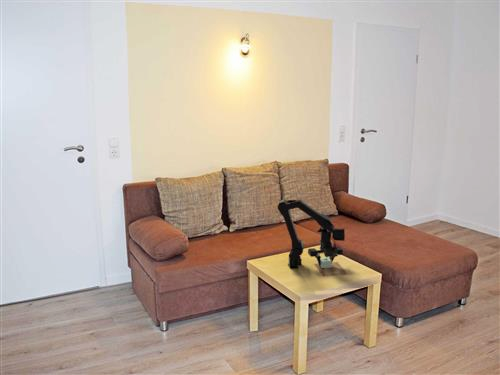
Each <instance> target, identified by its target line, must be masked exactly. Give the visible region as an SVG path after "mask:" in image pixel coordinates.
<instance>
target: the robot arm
mask: <svg viewBox="0 0 500 375" xmlns="http://www.w3.org/2000/svg"><path fill="white" fill-rule="evenodd" d="M277 209H278V212H279V213H280V215H281V217H283V220H284V222H285V225H286V229H287V231H288V234H289V236H290V237H289V238H290V240H291V249H290V250H289V254H288V263H287V266H288V267H289V269H290V270H291V269H293V270H294V269H299V266H302V258H301V257H302V254H303V252H304V249H305V244H304V242H303V241H304V240H303V238H302V239H300V238H299V236H298V233H297V229H296V227H295V224H294V221H293V218H292V215H291V210H294V209H299V210H300V211H302V212H303V213H304V214H306V215H307V216H308V217H310V218H312V219H314V220H315V222H316V223H317V224H318V225H319V226H320V227H319V228H317V233H320V239H319V244H320V246H319V249H318V250H317V249H316V248H308V250H307V254H308V255H309V256H310V258H311V257H313V258H315V259H316V261H317V264H319V266H320V265H321V263H320V258H322V256H321V254H323V255H324V257H329V259H330V260H331V261H332V263H333V262H334V260H335V258H336V257H338V256H343V255H344V250H343V249H342V248H341V247H339V246H332V239H333V240H334V241H338V242H340V241H341V242H345V239H346V237H345V236H346V234H345V228H337V227H335V225H334V224H333V221H332V219H331V217H329V216H327V215H325V214H324V213H320V212H318V211H317V210H315V209H314V208H313V207H311V205H310V206H309V205H308V204H307V203H306V202H304V201H303V200H302V199H300V198H299V199H281V200H279V203H278V205H277ZM332 263H331V264H332Z"/></svg>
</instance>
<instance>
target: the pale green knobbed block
mask: <svg viewBox="0 0 500 375" xmlns="http://www.w3.org/2000/svg"><path fill="white" fill-rule="evenodd" d="M320 263H321V265H320V267H321V268H331V263H333V262H332V261H331V260H330V259H329V257H325V256H324V257H321V258H320Z"/></svg>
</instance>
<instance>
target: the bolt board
mask: <svg viewBox="0 0 500 375" xmlns="http://www.w3.org/2000/svg"><path fill="white" fill-rule="evenodd" d="M313 265H314V266H315V268H317V270H318V271H319V273H321V275H322V276H323V277H333V276H348V275H349V273H348V272H347V271H346V270H345V269H344V268H343V267H342V265H340V263H338V262H336V261H335V262H334V261H333V262H332V264H331V268H321V267H320V266H319V264H318V263H313Z"/></svg>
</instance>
